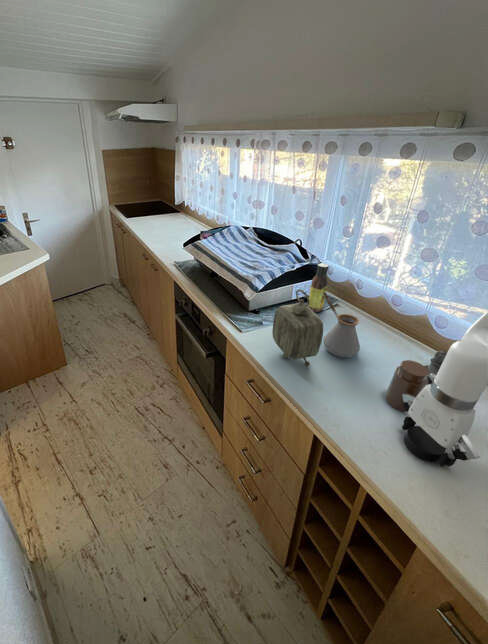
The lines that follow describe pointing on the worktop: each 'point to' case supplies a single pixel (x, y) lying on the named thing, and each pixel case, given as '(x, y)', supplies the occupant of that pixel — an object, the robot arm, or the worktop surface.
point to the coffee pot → (342, 335)
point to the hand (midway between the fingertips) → (424, 444)
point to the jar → (406, 383)
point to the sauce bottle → (318, 288)
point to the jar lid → (423, 445)
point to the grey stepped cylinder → (435, 364)
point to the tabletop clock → (297, 330)
